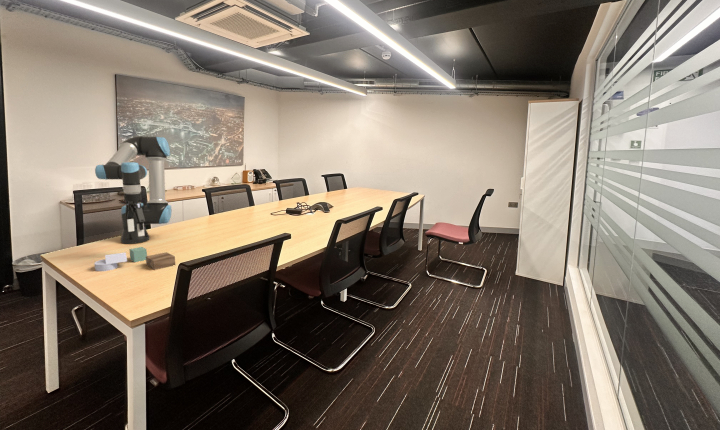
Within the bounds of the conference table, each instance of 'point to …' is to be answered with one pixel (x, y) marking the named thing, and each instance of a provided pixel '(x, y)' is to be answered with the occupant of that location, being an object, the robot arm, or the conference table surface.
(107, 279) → the conference table surface
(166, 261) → the walnut block
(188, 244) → the conference table surface
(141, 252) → the green cube
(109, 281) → the conference table surface
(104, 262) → the wedge on round base
